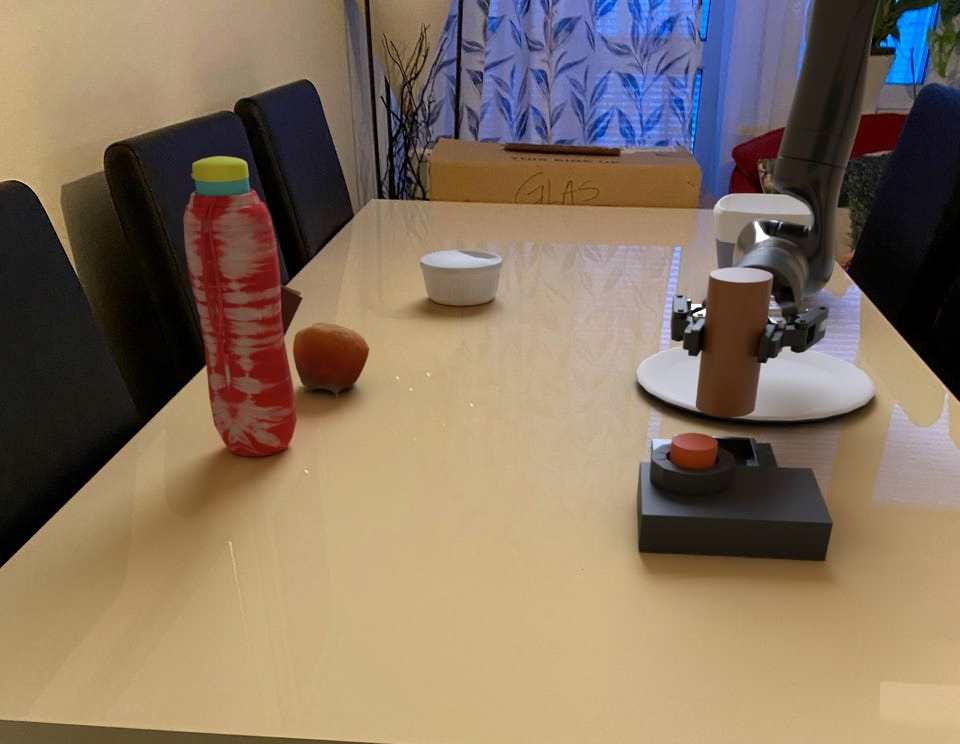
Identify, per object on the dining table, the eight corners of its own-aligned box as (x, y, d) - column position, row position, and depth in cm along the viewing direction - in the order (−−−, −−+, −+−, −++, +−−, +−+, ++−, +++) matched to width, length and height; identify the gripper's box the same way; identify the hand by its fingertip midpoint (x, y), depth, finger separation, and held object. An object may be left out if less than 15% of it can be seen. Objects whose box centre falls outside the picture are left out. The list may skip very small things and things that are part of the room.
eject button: (668, 452, 81) (670, 431, 80) (713, 453, 80) (716, 433, 79) (670, 470, 78) (672, 449, 77) (717, 472, 77) (719, 451, 76)
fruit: (275, 389, 103) (283, 311, 103) (304, 404, 111) (311, 332, 110) (348, 394, 101) (356, 316, 101) (372, 409, 109) (380, 337, 109)
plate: (615, 354, 116) (616, 343, 116) (823, 347, 118) (825, 337, 117) (663, 434, 96) (664, 422, 95) (914, 425, 97) (917, 413, 96)
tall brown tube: (721, 392, 88) (737, 264, 82) (766, 407, 85) (786, 275, 79) (683, 405, 86) (696, 274, 79) (728, 421, 82) (745, 285, 76)
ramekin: (514, 292, 140) (515, 253, 137) (481, 312, 132) (481, 271, 129) (444, 284, 144) (443, 246, 141) (407, 303, 136) (405, 263, 133)
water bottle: (259, 414, 101) (222, 143, 87) (330, 423, 99) (303, 147, 85) (195, 459, 92) (142, 163, 78) (272, 470, 89) (231, 168, 76)
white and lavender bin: (699, 297, 137) (708, 211, 131) (711, 271, 149) (720, 191, 143) (814, 305, 133) (829, 217, 127) (817, 277, 145) (831, 195, 139)
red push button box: (636, 494, 85) (641, 439, 82) (804, 502, 83) (815, 446, 80) (638, 552, 76) (643, 492, 73) (825, 561, 75) (838, 500, 72)
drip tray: (651, 444, 94) (652, 426, 93) (769, 448, 93) (772, 430, 92) (654, 494, 85) (656, 474, 84) (785, 499, 83) (789, 480, 82)
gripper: (688, 248, 93) (644, 292, 80) (847, 259, 89) (828, 307, 75) (680, 328, 97) (637, 383, 84) (832, 342, 93) (812, 402, 80)
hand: (728, 347), depth 80 cm, fingers closed on tall brown tube, 5 cm apart
